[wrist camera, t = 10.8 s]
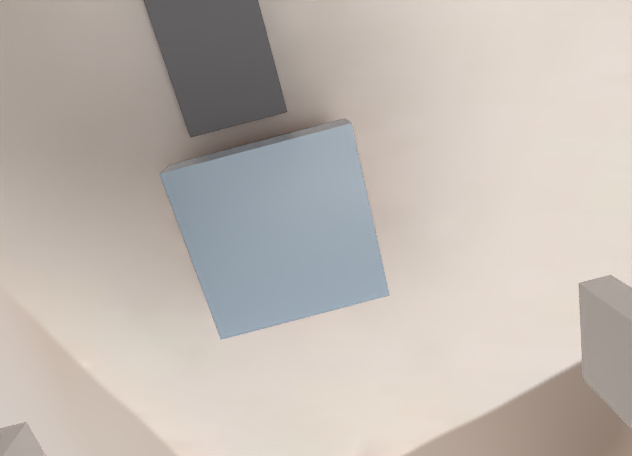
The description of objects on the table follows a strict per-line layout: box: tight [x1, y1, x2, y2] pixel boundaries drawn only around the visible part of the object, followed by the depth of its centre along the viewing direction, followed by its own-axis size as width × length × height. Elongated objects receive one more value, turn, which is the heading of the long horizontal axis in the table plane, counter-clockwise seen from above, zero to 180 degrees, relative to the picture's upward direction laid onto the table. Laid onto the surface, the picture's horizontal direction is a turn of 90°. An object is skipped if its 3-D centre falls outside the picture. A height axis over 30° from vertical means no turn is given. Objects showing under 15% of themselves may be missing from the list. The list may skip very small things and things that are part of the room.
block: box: [144, 0, 287, 137], centre depth 27 cm, size 12×6×2 cm, turn 14°
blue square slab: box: [160, 118, 389, 339], centre depth 26 cm, size 10×10×2 cm
